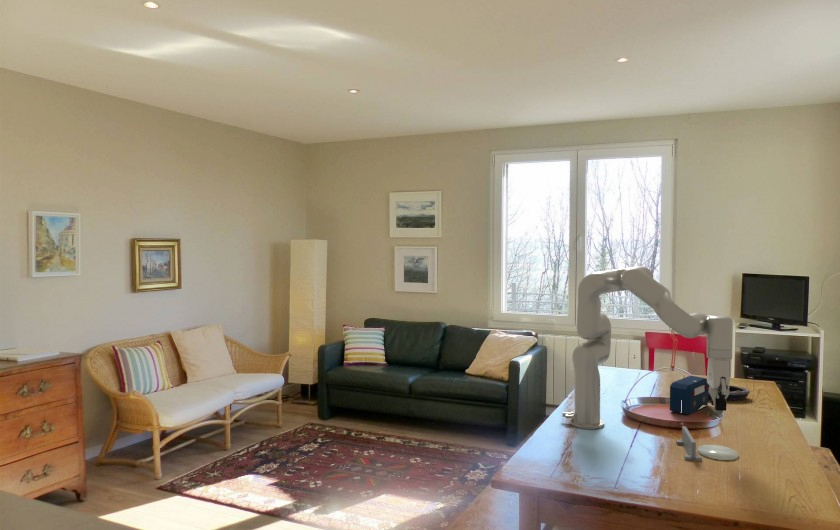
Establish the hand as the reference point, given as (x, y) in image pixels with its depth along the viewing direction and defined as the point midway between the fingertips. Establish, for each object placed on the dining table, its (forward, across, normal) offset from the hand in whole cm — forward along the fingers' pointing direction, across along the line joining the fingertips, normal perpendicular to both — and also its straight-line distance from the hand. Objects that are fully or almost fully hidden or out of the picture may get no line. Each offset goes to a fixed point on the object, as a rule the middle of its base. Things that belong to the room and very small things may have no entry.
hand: (718, 407), depth 196 cm
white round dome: (+16, 0, 0) cm, 16 cm away
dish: (+16, -72, +14) cm, 75 cm away
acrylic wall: (+16, 0, -9) cm, 18 cm away
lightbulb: (+3, 0, 0) cm, 3 cm away
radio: (+16, -50, +1) cm, 53 cm away
